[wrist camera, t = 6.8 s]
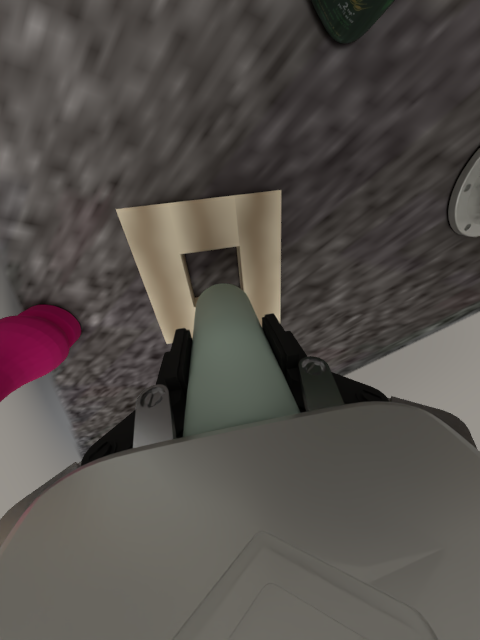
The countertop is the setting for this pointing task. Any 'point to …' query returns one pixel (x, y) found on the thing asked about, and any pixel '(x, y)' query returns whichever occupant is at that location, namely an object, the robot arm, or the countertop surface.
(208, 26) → the countertop surface
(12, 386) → the pepper mill
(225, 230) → the wooden square frame
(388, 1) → the coffee jar
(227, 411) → the peg
